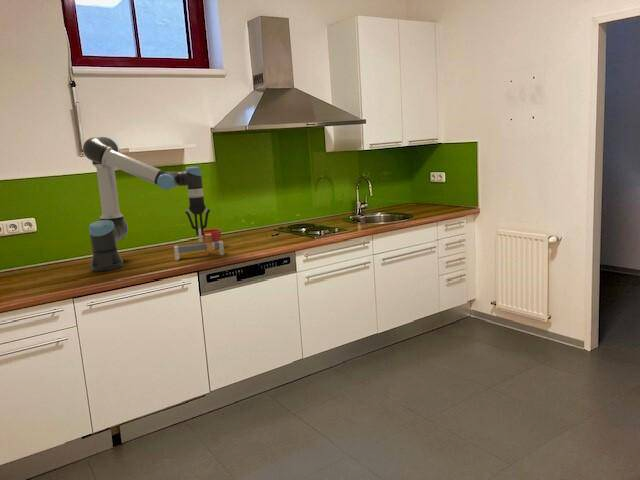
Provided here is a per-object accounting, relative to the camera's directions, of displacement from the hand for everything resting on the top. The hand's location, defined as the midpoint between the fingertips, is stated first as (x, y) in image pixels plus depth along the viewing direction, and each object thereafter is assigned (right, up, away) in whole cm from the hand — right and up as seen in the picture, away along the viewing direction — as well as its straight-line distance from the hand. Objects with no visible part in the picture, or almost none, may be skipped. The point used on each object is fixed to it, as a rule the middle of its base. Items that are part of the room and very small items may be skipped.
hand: (200, 241), depth 280 cm
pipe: (-1, -8, +1) cm, 8 cm away
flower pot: (+2, -4, +23) cm, 23 cm away
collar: (+5, -6, +2) cm, 8 cm away
